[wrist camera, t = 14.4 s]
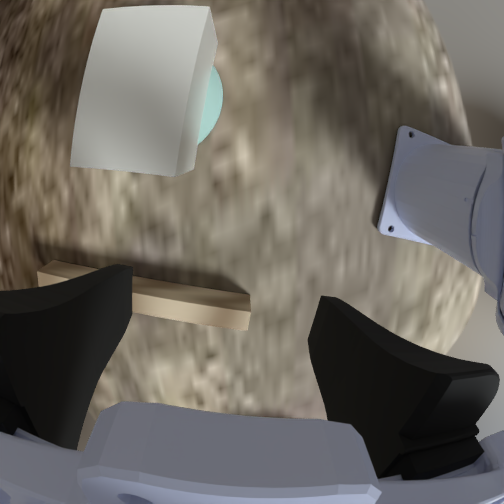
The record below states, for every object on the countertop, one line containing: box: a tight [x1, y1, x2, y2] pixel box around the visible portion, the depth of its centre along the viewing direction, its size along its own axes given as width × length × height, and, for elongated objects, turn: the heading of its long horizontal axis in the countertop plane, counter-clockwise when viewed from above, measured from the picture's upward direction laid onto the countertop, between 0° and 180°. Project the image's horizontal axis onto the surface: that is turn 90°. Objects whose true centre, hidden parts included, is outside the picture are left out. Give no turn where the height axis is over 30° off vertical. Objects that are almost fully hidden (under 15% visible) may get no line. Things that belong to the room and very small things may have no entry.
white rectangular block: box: [70, 5, 218, 177], centre depth 15 cm, size 6×9×6 cm, turn 170°
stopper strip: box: [37, 260, 251, 331], centre depth 20 cm, size 16×2×2 cm, turn 80°
